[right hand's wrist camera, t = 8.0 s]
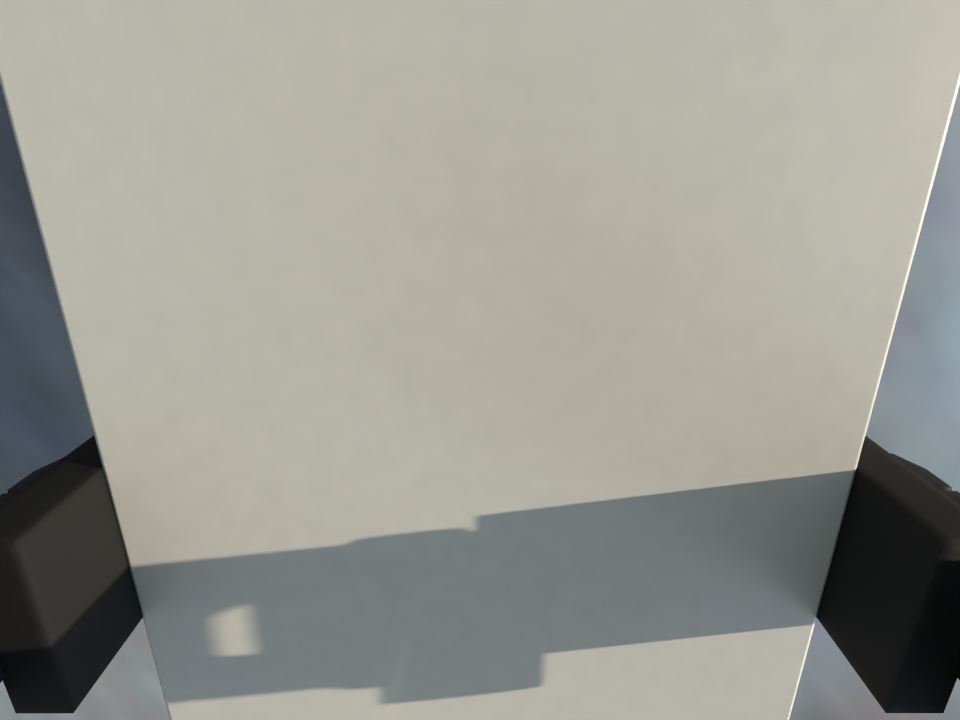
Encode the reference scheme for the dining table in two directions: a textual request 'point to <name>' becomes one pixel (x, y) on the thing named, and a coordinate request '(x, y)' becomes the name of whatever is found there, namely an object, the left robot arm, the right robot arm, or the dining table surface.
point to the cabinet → (479, 332)
